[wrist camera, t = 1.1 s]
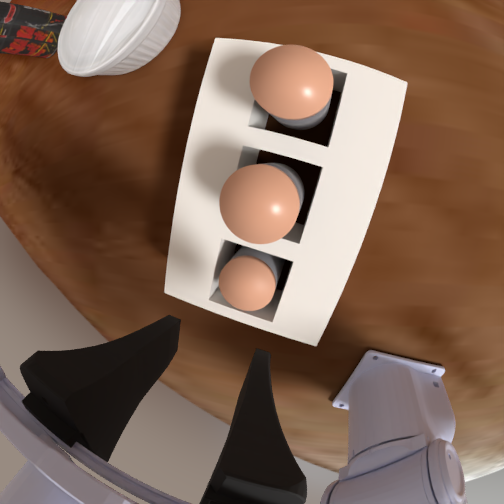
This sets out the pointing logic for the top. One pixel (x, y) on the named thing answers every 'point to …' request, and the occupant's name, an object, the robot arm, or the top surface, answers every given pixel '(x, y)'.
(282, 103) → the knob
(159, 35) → the ramekin
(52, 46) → the deodorant
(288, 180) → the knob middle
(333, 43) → the top surface
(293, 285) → the white egg carton
